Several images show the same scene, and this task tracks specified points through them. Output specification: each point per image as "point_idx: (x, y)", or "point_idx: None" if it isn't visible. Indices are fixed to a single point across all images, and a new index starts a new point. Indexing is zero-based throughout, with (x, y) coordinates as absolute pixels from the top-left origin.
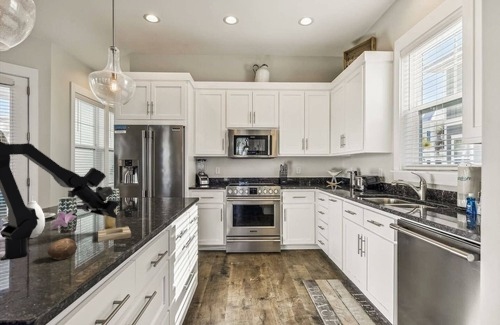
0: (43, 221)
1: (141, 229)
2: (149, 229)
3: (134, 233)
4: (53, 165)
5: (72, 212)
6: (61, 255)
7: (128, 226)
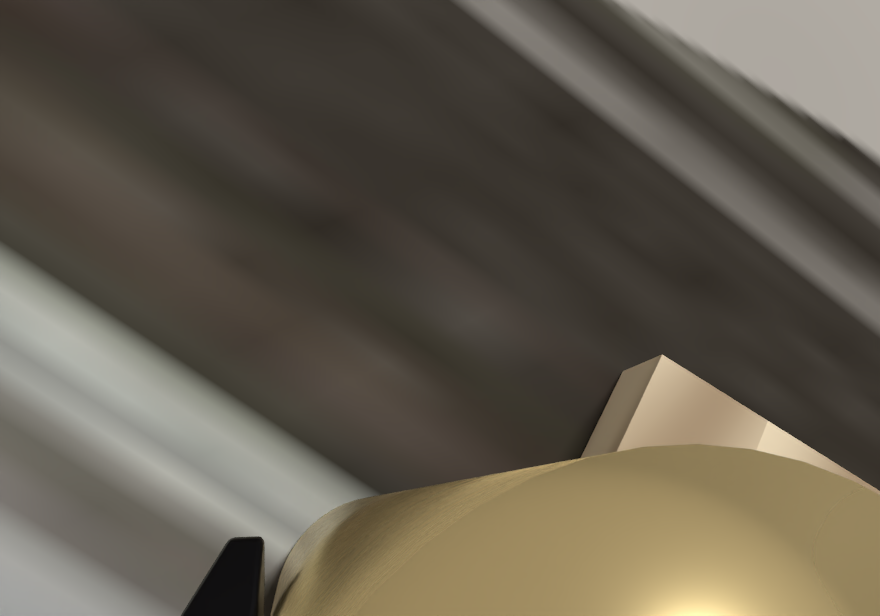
0: None
1: (714, 212)
2: (811, 163)
3: (847, 433)
4: None
5: None
6: None
7: (663, 357)
